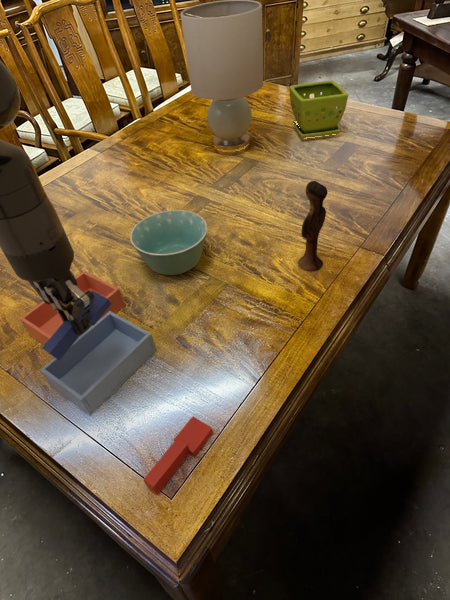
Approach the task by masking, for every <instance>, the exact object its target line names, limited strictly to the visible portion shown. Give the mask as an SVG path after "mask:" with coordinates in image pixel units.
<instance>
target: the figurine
mask: <svg viewBox="0 0 450 600" xmlns="http://www.w3.org/2000/svg"><path fill="white" fill-rule="evenodd" d="M328 194H329V193H328V188H327V187H326V186H325V185H323V184H321V183H320V182H318V181H316V180H311V181H308V183H307V184H306V185H305V196H306V197H307V199H308V201H309V205H310V206H309V211H308V213H307V215H306V216H305V218H304V219H303V222H302V223H301V224H302V225H301V231H300V233H301V237H302V238H303V239H305V251H304V253H303V255H302V256H300V258H299V259H298V260H297V266H298V267H299V268H300V269H303V270H305V271H308V272H316V271H318V270H321V269H322V267H323V266H324V262H323V260H322V259H321V258H320V257H319V256H318V244H319V243H318V240H319V235H320V232H321V230H322V228H323V225H324V223H325V220H326V216H327V211H326V208H325V206H324V200H325V199H326V198H327V196H328Z"/></svg>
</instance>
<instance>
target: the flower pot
mask: <svg viewBox="0 0 450 600" xmlns="http://www.w3.org/2000/svg"><path fill="white" fill-rule="evenodd" d="M311 95H313V97H311ZM348 98H349V94H348V92H347V91H346V90H345V89H344V88H343V87H342V86H341V85H340V84H338V83H337V82H336V81H334V80H323V81H315V82H307V83H299V84H293V85H290V86H289V99H290V107H291V110H292V114H293V117H294V120H292V121H293V122H292V124H293V123H294V124H293V126H294V128H295V127H296V128H295V130H296V131H297V133H298V132H299V133H298V134H299V136H300V137H301V138H302V139H303V138H306V137H315V136H322V137H315V138H307V139H303V141H307V140H308V141H309V140H315V139H323V138H330V137H335V136H338V134H339V133H341V129H340V127H339V126H338V125H339V124H340V122H341V120H342V119H343V116H344V113H345V111H346V108H347V103H348ZM294 121H297V123H298V125H299V126H298V125H296V123H295V122H294ZM299 127H300V128H299ZM332 134H336V135H332ZM325 135H329V136H325Z"/></svg>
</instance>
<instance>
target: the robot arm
mask: <svg viewBox="0 0 450 600" xmlns="http://www.w3.org/2000/svg"><path fill="white" fill-rule="evenodd" d="M20 108H21V93H20V89H19V86H18V83H17V81H16V79H15V77H14V75H13V74H12V72H11V71H10V69H9V68H8V67H7V66H6V64H4V62H2V60H0V131H1V130H4V129H5V128H7V127H9V126H10V125H11V124H12V123H13V122H14V121H15V119H16V118H17V116H18V114H19V113H20ZM0 249H1V251H2V253H3V254H4V256H5V258H6V259H7V262H8V263H9V265H10V267H11V268H12V270H13V272H14V274H15V275H16V277H18V278H19V279H21V280H23V281H25V282H27V283H28V284H29V285H30V286H31V288H32V289H34V291H35V292H36V293H37V295H38V296H39V297H40V298H41V299H42V301H44V302H45V303H46V304H48V305H49V304H51V305H52V307H53V310H54V311H56V312H57V313H59V315H60V317H61V319H62V321H63V322H64V321H66V320H67V318H68V320H69V322H70V324H71V326H72V327H73V329H74V331H75V333H76V334H77V335H79V336H81V335H82V334H83V333H85V332H86V331H87V330H88V329H89V327H90V325H89V323H88V321H87V319H86V316H87V315H88V314H90V313H91V312H92V308H93V303H94V294H93V293H92V292H91V291H89V290H88V291H87V292H84V293H83V292H82V291H81V290H80V289H79V288H78V286H77V280H76V278H75V277H76V276H75V273H74V272H73V271H72V270H71V266H72V264H73V262H74V258H75V251H74V249H73V246H72V244H71V242H70V240H69V238H68V235H67V233H66V230H65V228H64V226H63V224H62V221H61V219H60V216H59V215H58V212H57V210H56V208H55V206H54V204H53V203H52V201H51V200H50V198H49V197H48V195H47V192H46V191H45V189H44V186H43V184H42V182H41V179H40V177H39V175H38V173H37V170H36V168H35V166H34V164H33V161H32V159H31V158H30V156H29V154H28V153H27V152H26V151H25V150H24V149H23V148H22V147H20V146H18V145H16V144H14V143H11V142H8V141H5V140H3V139H1V138H0Z"/></svg>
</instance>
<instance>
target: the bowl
mask: <svg viewBox="0 0 450 600" xmlns="http://www.w3.org/2000/svg"><path fill="white" fill-rule="evenodd" d="M207 234H208V223H207V221H206V220H205V218H203V217H202V216H201V215H200V214H198V213H196V212H193V211H189V210H184V209H171V210H170V209H169V210H164V211H159V212H156V213H152V214H151V215H148V216H146V217H145V218H142V219H141V220H140V221H138V222H137V223H136V224H135V226H134V227H133V228H132V229H131V231H130V234H129V240H130V243H131V245H132V247H133V248H134V249H135V250H136V252H137V253H138V254H139V256H140V257H141V258H142V259H143V261H144V262H145V263H146V265H148V267H149V268H150V269H151V270H152V271H154V272H156V273H157V274H161V275H164V276H177V275H181V274H184V273H187V272H188V271H190V270H191V269H193V268H194V267H196V265H197V264H198V263H199V262H200V260H201V257H202V254H203V250H204V246H205V244H206V243H205V242H206V238H207Z"/></svg>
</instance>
